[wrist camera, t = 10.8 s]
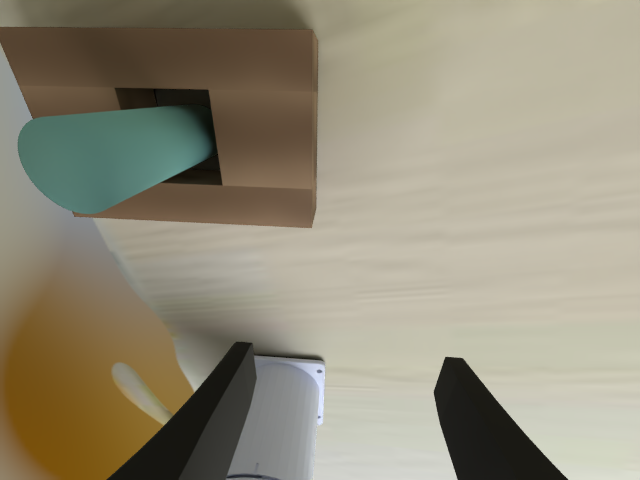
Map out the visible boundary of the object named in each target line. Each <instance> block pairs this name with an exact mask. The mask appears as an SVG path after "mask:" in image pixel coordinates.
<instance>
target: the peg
mask: <svg viewBox="0 0 640 480" xmlns="http://www.w3.org/2000/svg"><path fill="white" fill-rule="evenodd" d="M18 153H19V157H20V160H21V163H22V165H23V168H24V170H25V172H26V173H27V175H28V176H29V178H30V179H31V181H32V182H33V183H34V185H35V186H36V187H37V188H38V189H39V190H40V191H41V192H42V193H43V194H44V195H45V196H46V197H48V198H49V199H50V200H52V201H53V202H55V203H56V204H58V205H60V206H61V207H63V208H66V209H68V210H70V211H73V212H77V213H82V214H95V213H99V212H102V211H104V210H106V209H108V208H110V207H112V206H114V205H116V204H118V203H120V202H122V201H124V200H126V199H128V198H130V197H132V196H134V195H136V194H138V193H140V192H142V191H144V190H146V189H148V188H150V187H152V186H154V185H156V184H158V183H160V182H162V181H164V180H166V179H168V178H170V177H172V176H174V175H176V174H178V173H180V172H182V171H184V170H186V169H188V168H190V167H192V166H194V165H196V164H198V163H200V162H202V161H204V160H206V159H208V158H210V157H212V156H214V155H216V154H217V153H218V150H217V143H216V137H215V130H214V123H213V116H212V111H211V110H210V109H209V108H207V107H205V106H203V105H199V104H188V105H176V106H164V107H153V108H141V109H129V110H118V111H106V112H94V113H83V114H71V115H59V116H48V117H39V118H35V119H33V120H31V121H29V122H28V123H26V125H25V126H24V127H23V128H22V130H21V131H20V134H19V137H18Z"/></svg>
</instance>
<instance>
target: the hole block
mask: <svg viewBox="0 0 640 480" xmlns="http://www.w3.org/2000/svg"><path fill="white" fill-rule="evenodd" d="M0 43H1V45H2V48H3V50H4V52H5V55H6V57H7V59H8V62H9V64H10V66H11V69H12V71H13V73H14V76H15V78H16V80H17V83H18V85H19V87H20V90H21V92H22V95H23V97H24V99H25V101H26V104H27V106H28V109H29V111H30V113H31V116H32V118H33V119H35V118H39V117H48V116H59V115H71V114H83V113H94V112H106V111H118V110H129V109H141V108H153V107H157V104H156V100H155V95H154V91H153V88H159V89H207V90H209V96H210V103H211V110H212V116H213V123H214V130H215V137H216V143H217V150H218V157H219V164H220V170H221V171H218V170H191V169H186V170H184V171H182V172H180V173H178V174H176V175H174V176H172V177H170V178H168V179H166V180H164V181H162V182H160V183H158V184H156V185H154V186H152V187H150V188H148V189H146V190H144V191H142V192H140V193H138V194H136V195H134V196H132V197H130V198H128V199H126V200H124V201H122V202H120V203H118V204H116V205H114V206H112V207H110V208H108V209H106V210H104V211H102V212H99V213H95V214H82V213H77V212H73V211H72V212H73V214H74V216H75V217H93V218H114V219H135V220H155V221H176V222H197V223H217V224H238V225H258V226H279V227H300V228H312V224H313V220H314V215H315V211H316V178H317V98H318V40H317V38H316V36H315V34H314V32H313V30H312V29H194V28H71V27H0Z"/></svg>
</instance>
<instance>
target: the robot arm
mask: <svg viewBox="0 0 640 480" xmlns="http://www.w3.org/2000/svg"><path fill="white" fill-rule="evenodd" d="M324 382H325V363H324V362H323V361H320V360H307V359H294V358H281V357H267V356H254V353H253V345H252V343H247V342H236V343H234V344H233V346H232V347H231V348H230V350H229V351H228V352H227V354H226V355H225V356H224V358H223V359H222V360H221V361H220V363H219V364H218V365H217V366H216V368H215V369H214V370H213V371H212V373H211V374H210V375H209V376H208V377H207V379H206V380H205V381H204V382H203V383H202V385H201V386H200V387H199V388H198V389H197V390H196V392H195V393H194V394H193V395H192V396H191V398H189V400H188V401H187V402H186V403H185V404H184V405H183V406H182V407H181V408H180V409H179V411H178V412H177V413H176V414H175V415H174V416H173V417H172V418H171V419H170V420H169V421H168V422H167V423H166V424H165V425H164V426H163V427H162V428H161V430H160V431H158V433H157V434H155V435H154V436H153V437H152V438H151V439H150V440H149V441H148V442H147V443H146V444H145V445H144V446H143V447H142V448H141V449H140V450H139V451H138V452H137V453H136V454H134V456H132V457H131V458H130V459H129V460H128V461H127V462H126V463H125V464H124V465H122V466H121V467H120V468H119V469H118V470H117V471H116V472H115V473H114V474H112V475H111V476H110V477H109V478H108V479H107V480H313V472H314V459H315V446H316V434H317V425H321V424H322V423H323V407H324ZM434 396H435V402H436V407H437V412H438V416H439V421H440V425H441V428H442V431H443V435H444V438H445V441H446V444H447V447H448V451H449V454H450V457H451V460H452V463H453V466H454V469H455V472H456V476H457V479H458V480H568V479H567V478H566V477H565V476H564V475H563V474H562V473H561V472H560V471H559V470H558V469H557V468H556V467H555V466H554V465H553V464H552V463H551V461H550V460H549V459H548V458H547V457H546V456H545V455H544V454H543V453H542V452H541V451H540V450H539V449H538V447H537V446H536V445H535V444H534V443H533V442H532V441H531V440H530V439H529V438H528V436H527V435H526V434H525V433H524V432H523V431H522V430H521V429H520V427H519V426H518V425H517V424H516V423H515V422H514V420H513V419H512V418H511V417H510V416H509V414H508V413H507V412H506V411H505V410H504V409H503V407H502V406H501V405H500V404H499V403H498V401H497V400H496V399H495V398H494V397H493V395H492V394H491V393H490V392H489V390H488V389H487V388H486V387H485V385H484V384H483V383H482V382H481V380H480V379H479V378H478V377H477V375H476V374H475V373H474V372H473V370H472V369H471V368H470V367H469V365H468V364H467V363H466V362H465V360H464V359H463V358H454V357H445V360H444V363H443V366H442V369H441V372H440V375H439V378H438V381H437V384H436V387H435V390H434Z"/></svg>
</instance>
